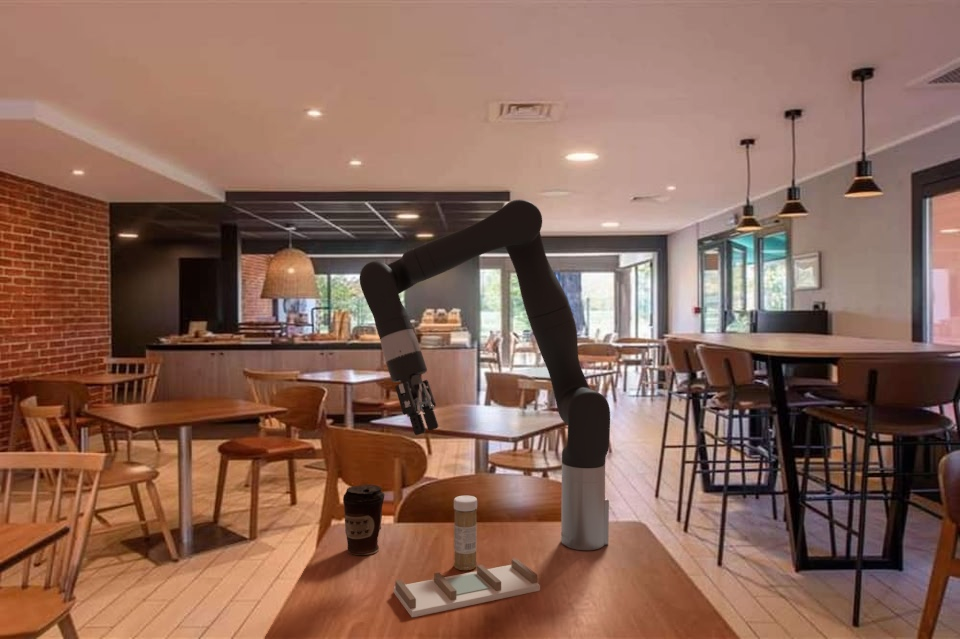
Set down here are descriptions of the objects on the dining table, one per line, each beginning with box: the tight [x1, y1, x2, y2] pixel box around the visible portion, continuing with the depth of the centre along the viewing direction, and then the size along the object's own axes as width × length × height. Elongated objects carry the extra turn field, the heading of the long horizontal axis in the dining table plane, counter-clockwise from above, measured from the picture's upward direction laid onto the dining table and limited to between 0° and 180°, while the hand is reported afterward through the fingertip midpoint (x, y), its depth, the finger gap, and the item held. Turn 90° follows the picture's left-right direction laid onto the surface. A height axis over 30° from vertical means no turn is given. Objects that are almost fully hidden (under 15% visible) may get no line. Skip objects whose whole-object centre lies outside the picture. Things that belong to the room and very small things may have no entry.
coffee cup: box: [342, 484, 385, 556], centre depth 131 cm, size 9×8×13 cm
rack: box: [393, 558, 541, 618], centre depth 113 cm, size 24×10×2 cm, turn 115°
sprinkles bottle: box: [453, 494, 478, 571], centre depth 123 cm, size 5×5×14 cm
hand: (427, 431), depth 128 cm, fingers open, 8 cm apart
